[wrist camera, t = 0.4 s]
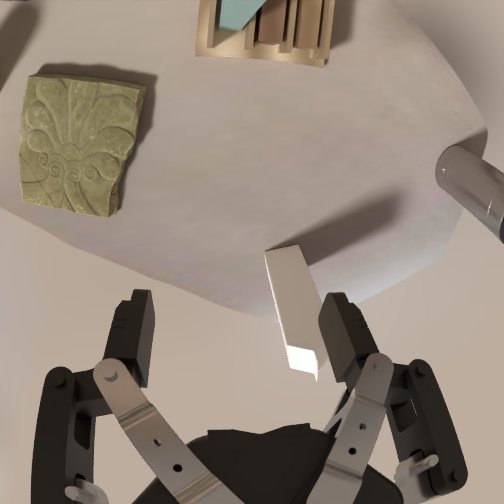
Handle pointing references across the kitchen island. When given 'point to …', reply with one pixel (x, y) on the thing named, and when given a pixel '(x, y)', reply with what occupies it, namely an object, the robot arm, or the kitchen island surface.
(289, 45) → the beech rack
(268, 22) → the walnut offcut
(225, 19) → the teal board
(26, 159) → the decorative tile
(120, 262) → the kitchen island surface
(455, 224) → the kitchen island surface
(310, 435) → the robot arm
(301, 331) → the milk
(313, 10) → the oak offcut
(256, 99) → the kitchen island surface
